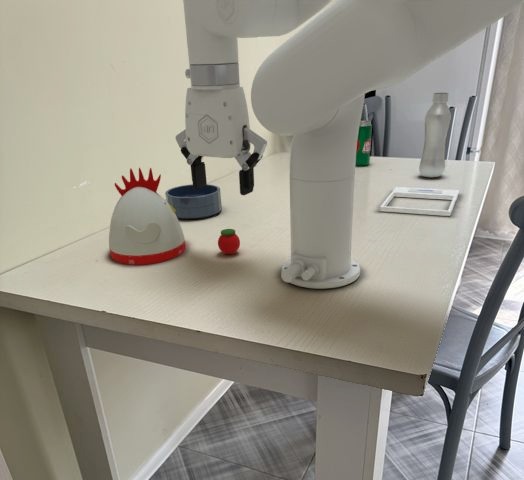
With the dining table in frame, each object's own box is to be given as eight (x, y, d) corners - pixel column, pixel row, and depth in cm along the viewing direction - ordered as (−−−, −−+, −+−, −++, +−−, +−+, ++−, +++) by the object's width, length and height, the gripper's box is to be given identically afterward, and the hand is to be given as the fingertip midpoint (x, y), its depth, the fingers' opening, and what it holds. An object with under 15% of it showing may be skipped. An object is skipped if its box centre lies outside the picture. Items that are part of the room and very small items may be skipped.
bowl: (201, 223, 109) (198, 199, 107) (157, 217, 115) (154, 194, 112) (232, 208, 118) (230, 186, 116) (190, 203, 124) (187, 182, 121)
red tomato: (233, 258, 90) (231, 235, 88) (214, 255, 92) (212, 233, 90) (244, 251, 93) (243, 229, 91) (226, 248, 95) (224, 226, 93)
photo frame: (459, 189, 119) (450, 210, 105) (458, 194, 119) (450, 216, 105) (396, 186, 124) (379, 205, 110) (395, 190, 125) (379, 211, 111)
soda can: (365, 167, 150) (367, 122, 143) (349, 165, 152) (351, 122, 146) (372, 163, 153) (374, 120, 147) (356, 162, 156) (358, 119, 149)
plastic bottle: (446, 175, 137) (458, 92, 126) (439, 180, 132) (450, 94, 121) (422, 173, 140) (431, 91, 129) (414, 178, 135) (423, 94, 124)
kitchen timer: (186, 260, 91) (175, 173, 83) (108, 268, 89) (89, 180, 82) (184, 235, 103) (174, 157, 95) (114, 242, 101) (98, 163, 93)
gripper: (155, 79, 79) (169, 190, 88) (249, 79, 72) (254, 201, 81) (185, 75, 85) (195, 180, 94) (275, 75, 77) (277, 190, 86)
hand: (222, 190), depth 87 cm, fingers open, 9 cm apart
